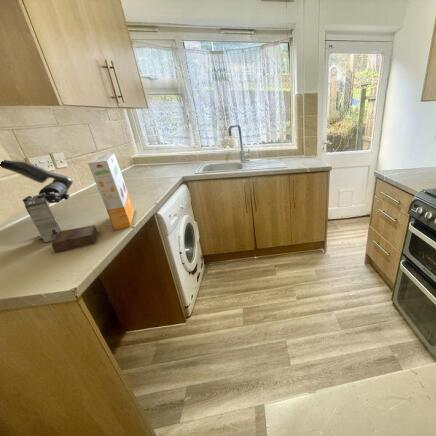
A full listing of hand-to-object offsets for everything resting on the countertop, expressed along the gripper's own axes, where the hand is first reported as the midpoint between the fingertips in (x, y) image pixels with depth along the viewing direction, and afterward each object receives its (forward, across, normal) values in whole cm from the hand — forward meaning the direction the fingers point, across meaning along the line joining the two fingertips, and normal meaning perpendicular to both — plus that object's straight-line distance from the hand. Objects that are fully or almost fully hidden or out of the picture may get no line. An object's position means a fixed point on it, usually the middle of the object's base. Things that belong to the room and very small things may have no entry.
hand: (42, 202), depth 102 cm
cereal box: (+2, -26, -14) cm, 30 cm away
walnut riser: (+17, -10, -14) cm, 24 cm away
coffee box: (+5, 0, -14) cm, 15 cm away
